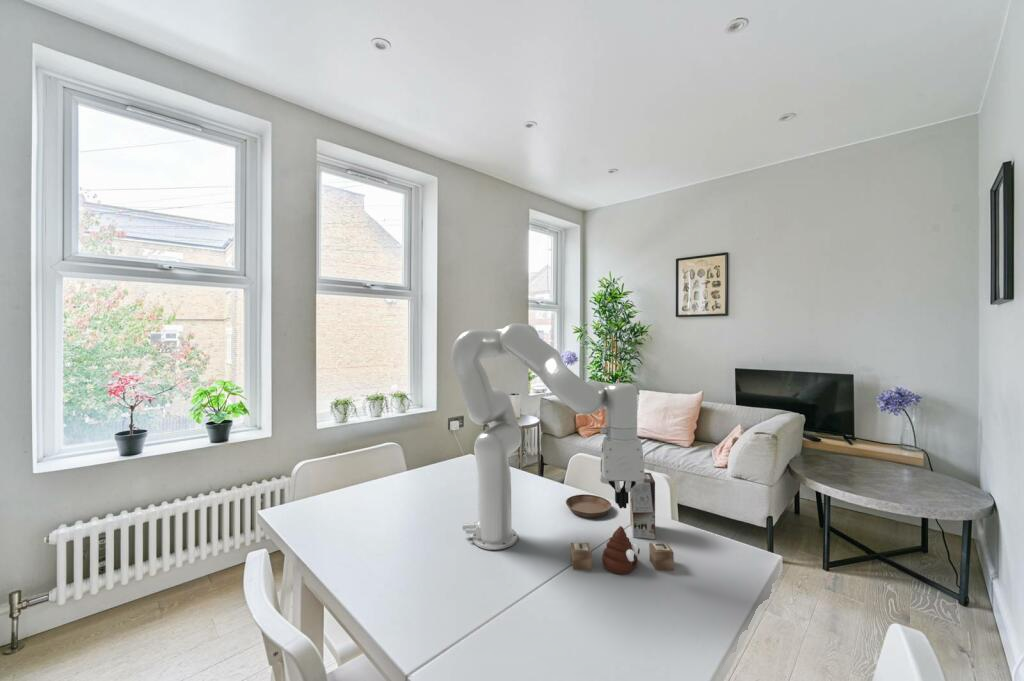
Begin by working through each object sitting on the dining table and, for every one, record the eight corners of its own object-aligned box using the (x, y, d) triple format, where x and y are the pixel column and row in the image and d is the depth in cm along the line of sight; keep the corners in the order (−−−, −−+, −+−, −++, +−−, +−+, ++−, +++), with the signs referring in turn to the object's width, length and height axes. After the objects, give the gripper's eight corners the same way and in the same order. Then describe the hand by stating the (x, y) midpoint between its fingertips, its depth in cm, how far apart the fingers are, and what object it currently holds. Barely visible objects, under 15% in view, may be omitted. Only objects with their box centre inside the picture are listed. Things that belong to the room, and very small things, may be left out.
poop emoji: (611, 551, 110) (611, 516, 110) (643, 561, 105) (643, 524, 105) (596, 568, 102) (595, 531, 102) (630, 580, 97) (629, 540, 97)
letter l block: (655, 570, 101) (655, 550, 101) (649, 560, 105) (649, 541, 105) (673, 570, 101) (673, 550, 101) (667, 560, 105) (667, 541, 105)
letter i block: (573, 570, 102) (572, 550, 102) (570, 560, 106) (570, 541, 106) (591, 570, 101) (591, 550, 101) (588, 560, 106) (588, 541, 106)
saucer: (620, 512, 135) (620, 504, 135) (588, 525, 126) (588, 516, 126) (588, 498, 147) (588, 491, 147) (556, 508, 138) (556, 500, 138)
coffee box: (656, 539, 116) (655, 482, 116) (632, 537, 117) (631, 481, 117) (651, 525, 125) (651, 472, 125) (629, 523, 126) (629, 471, 126)
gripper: (594, 436, 100) (594, 512, 100) (656, 436, 99) (656, 512, 100) (589, 429, 107) (589, 500, 107) (647, 429, 107) (647, 500, 107)
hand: (621, 506), depth 103 cm, fingers closed
